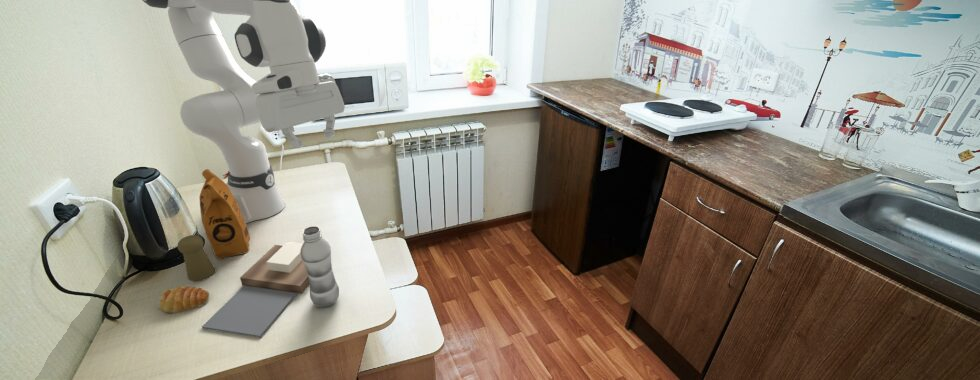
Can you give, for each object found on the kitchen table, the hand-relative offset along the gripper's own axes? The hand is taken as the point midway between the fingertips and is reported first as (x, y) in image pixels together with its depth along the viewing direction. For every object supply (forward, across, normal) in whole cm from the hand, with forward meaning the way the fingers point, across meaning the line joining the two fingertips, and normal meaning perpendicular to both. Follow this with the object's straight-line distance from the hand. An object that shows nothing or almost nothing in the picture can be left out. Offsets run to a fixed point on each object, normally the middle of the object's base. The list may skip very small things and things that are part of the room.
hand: (314, 141), depth 93 cm
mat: (+35, +18, -15) cm, 42 cm away
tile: (+30, +3, -18) cm, 36 cm away
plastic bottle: (+37, +8, -2) cm, 38 cm away
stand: (+33, +4, -18) cm, 38 cm away
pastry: (+32, +23, -31) cm, 50 cm away
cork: (+30, +14, -37) cm, 50 cm away
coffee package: (+28, +3, -41) cm, 50 cm away
